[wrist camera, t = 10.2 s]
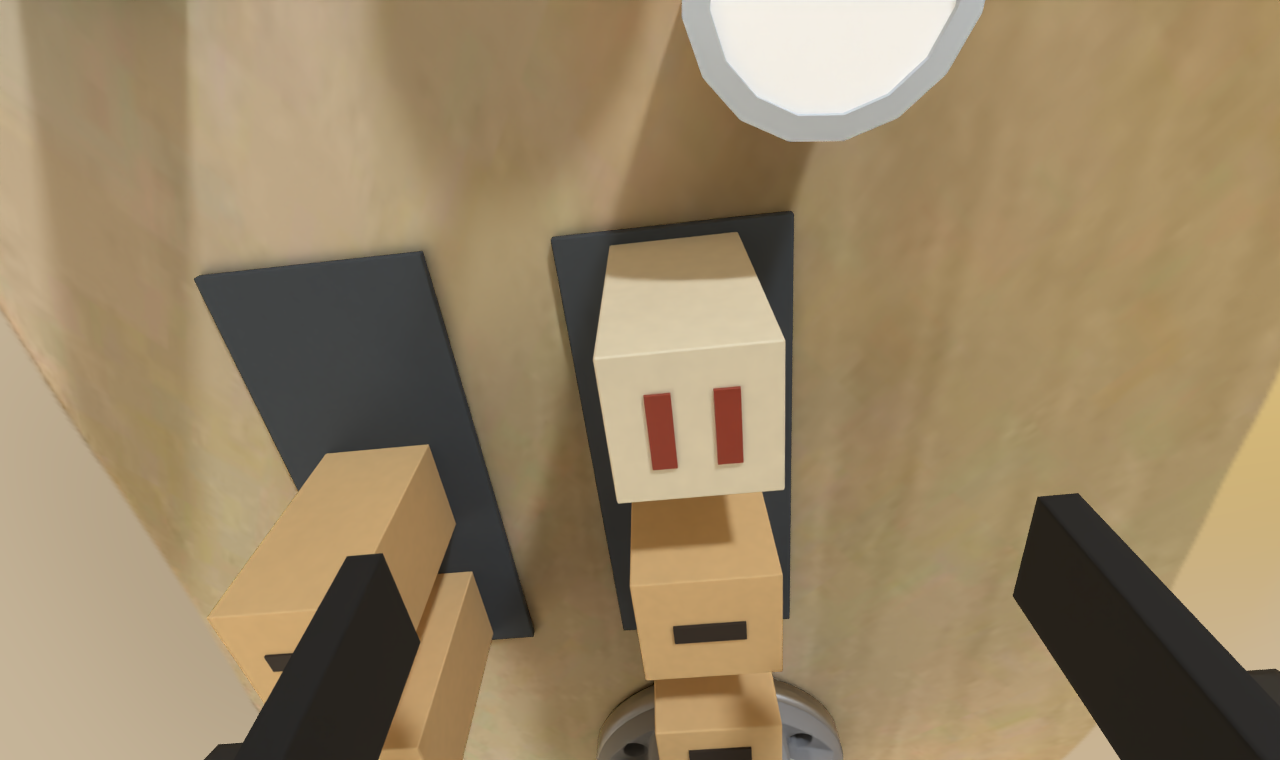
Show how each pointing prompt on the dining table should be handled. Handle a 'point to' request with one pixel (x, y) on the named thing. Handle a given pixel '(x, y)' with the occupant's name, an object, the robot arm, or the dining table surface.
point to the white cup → (825, 59)
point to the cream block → (689, 371)
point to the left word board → (367, 388)
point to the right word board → (583, 337)
